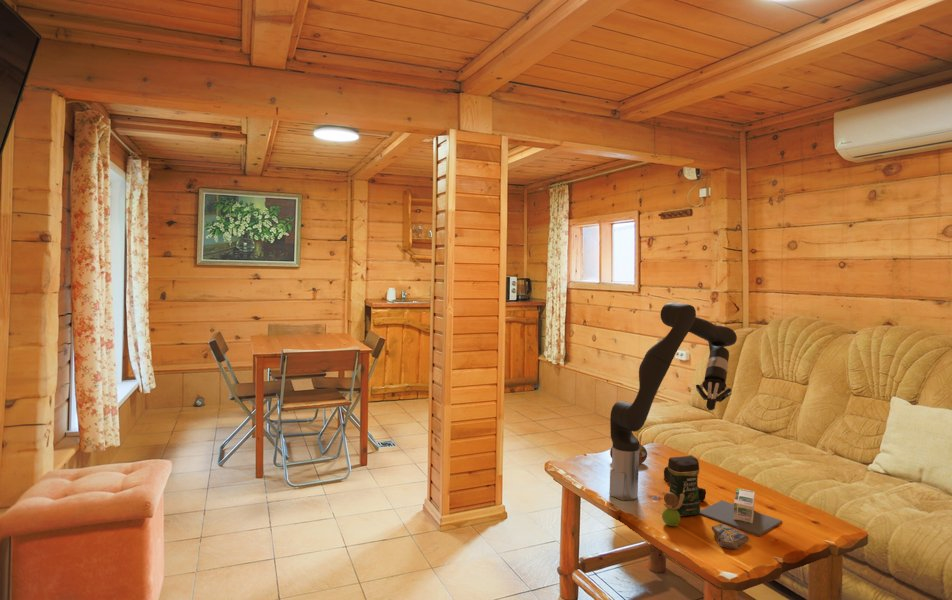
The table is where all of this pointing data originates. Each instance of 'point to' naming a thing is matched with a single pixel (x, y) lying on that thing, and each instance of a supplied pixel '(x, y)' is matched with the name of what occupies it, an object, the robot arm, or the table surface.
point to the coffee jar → (685, 483)
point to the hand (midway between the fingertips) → (710, 409)
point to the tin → (641, 454)
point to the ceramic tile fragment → (729, 537)
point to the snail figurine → (672, 508)
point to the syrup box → (744, 505)
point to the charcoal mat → (725, 514)
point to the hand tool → (700, 490)
